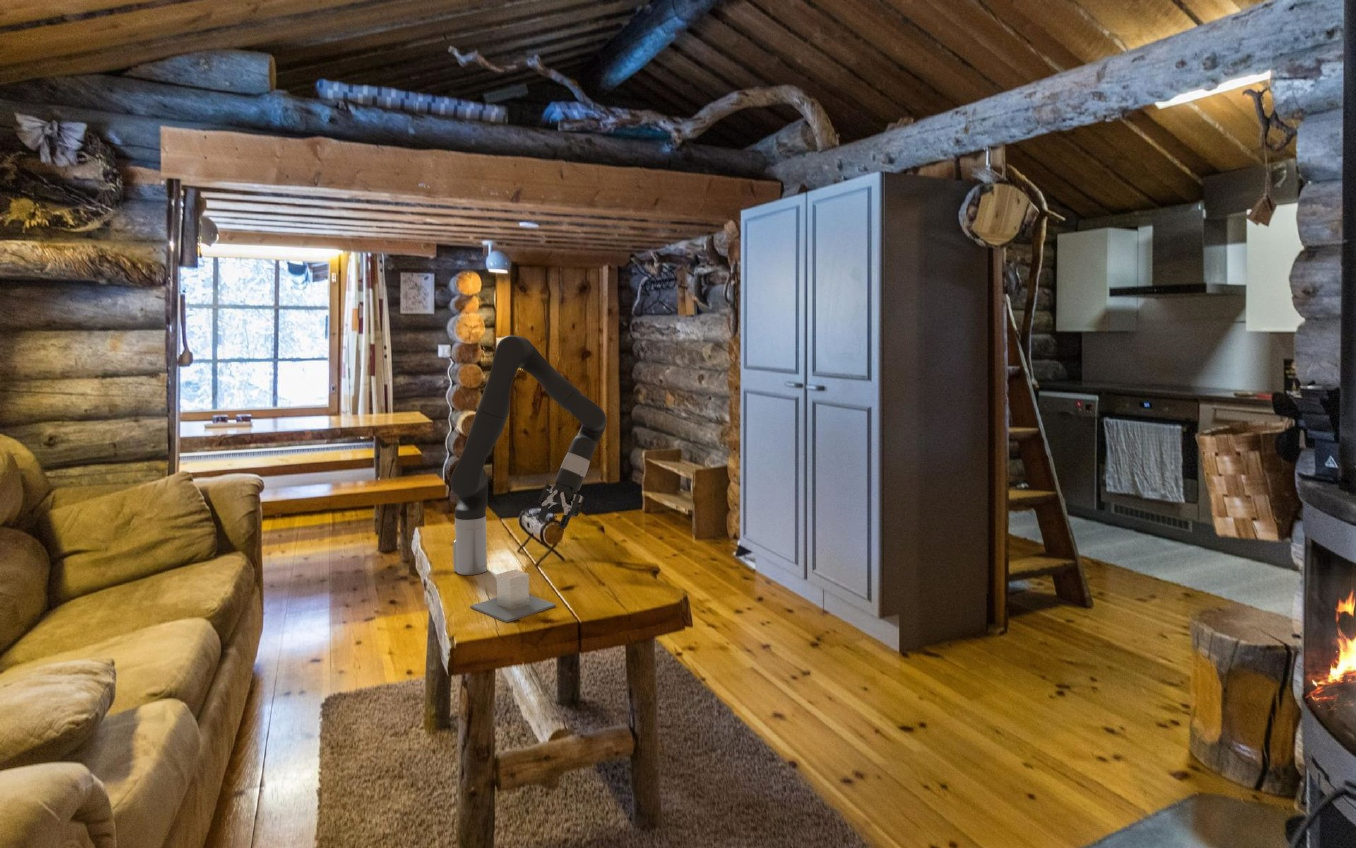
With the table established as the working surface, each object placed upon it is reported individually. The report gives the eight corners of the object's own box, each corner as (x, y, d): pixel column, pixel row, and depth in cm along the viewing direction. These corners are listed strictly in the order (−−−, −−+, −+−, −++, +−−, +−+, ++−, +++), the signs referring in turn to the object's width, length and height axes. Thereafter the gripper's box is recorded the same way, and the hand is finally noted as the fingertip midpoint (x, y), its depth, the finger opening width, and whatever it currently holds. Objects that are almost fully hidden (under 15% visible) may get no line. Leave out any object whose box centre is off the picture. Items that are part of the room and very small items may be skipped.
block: (497, 605, 205) (496, 574, 205) (515, 599, 210) (515, 569, 209) (510, 610, 202) (510, 579, 201) (529, 604, 206) (528, 573, 205)
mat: (470, 607, 205) (470, 596, 205) (519, 593, 217) (519, 582, 217) (506, 622, 195) (506, 610, 194) (555, 606, 206) (555, 595, 206)
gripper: (547, 462, 224) (525, 514, 221) (582, 473, 215) (560, 527, 212) (563, 469, 229) (542, 520, 227) (598, 481, 221) (576, 534, 218)
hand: (551, 524), depth 219 cm, fingers open, 8 cm apart
